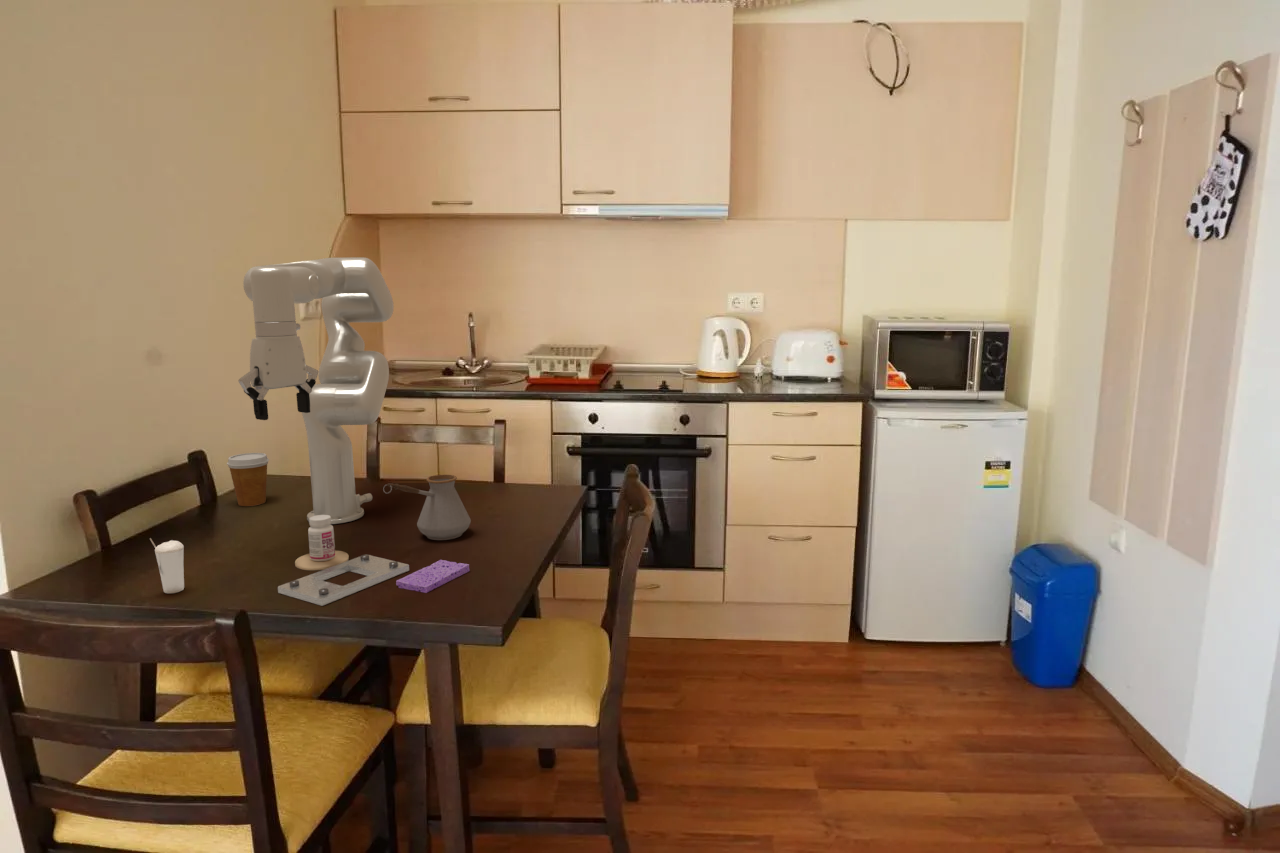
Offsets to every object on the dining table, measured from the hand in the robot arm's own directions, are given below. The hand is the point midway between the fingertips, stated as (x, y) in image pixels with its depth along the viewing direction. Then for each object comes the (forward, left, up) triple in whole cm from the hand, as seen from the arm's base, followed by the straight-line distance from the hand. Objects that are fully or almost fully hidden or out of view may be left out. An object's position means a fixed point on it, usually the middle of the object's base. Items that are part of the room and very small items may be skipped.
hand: (283, 415), depth 168 cm
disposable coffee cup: (-18, -41, -28) cm, 53 cm away
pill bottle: (+2, +11, -28) cm, 30 cm away
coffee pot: (-18, +20, -28) cm, 39 cm away
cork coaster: (+2, +11, -28) cm, 30 cm away
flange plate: (+7, +24, -28) cm, 38 cm away
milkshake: (+26, 0, -28) cm, 39 cm away
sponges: (-2, +37, -29) cm, 47 cm away
